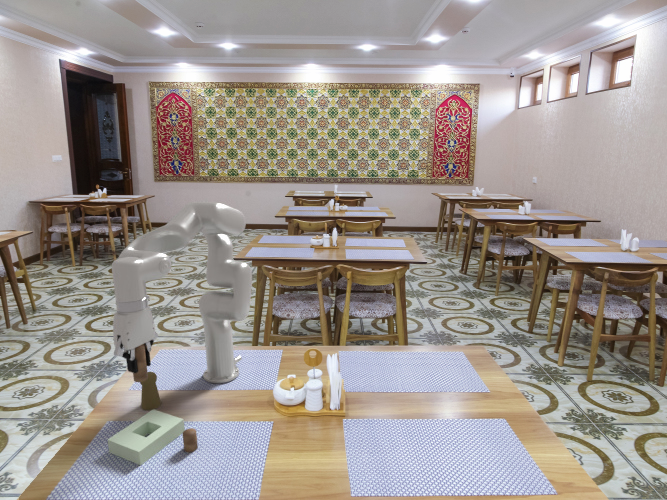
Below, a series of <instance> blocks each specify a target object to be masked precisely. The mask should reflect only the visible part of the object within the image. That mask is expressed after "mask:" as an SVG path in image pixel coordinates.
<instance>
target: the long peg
mask: <svg viewBox="0 0 667 500" xmlns="http://www.w3.org/2000/svg"><path fill="white" fill-rule="evenodd" d="M135 359H137V365H138V373H132V376H133V381H134V383H140V382H143V381H145V380H147V379H148V373H147V372H148V366H147V364H146V355H145V346H144V344H142V345H140V346H138V347H136V348H135Z"/></svg>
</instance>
